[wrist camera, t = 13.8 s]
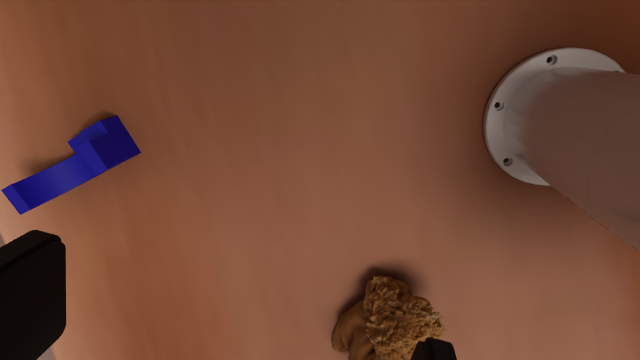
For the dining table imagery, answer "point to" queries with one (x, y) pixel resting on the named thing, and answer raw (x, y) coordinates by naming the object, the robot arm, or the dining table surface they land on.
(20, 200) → the cable clip
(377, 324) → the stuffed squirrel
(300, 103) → the dining table surface
